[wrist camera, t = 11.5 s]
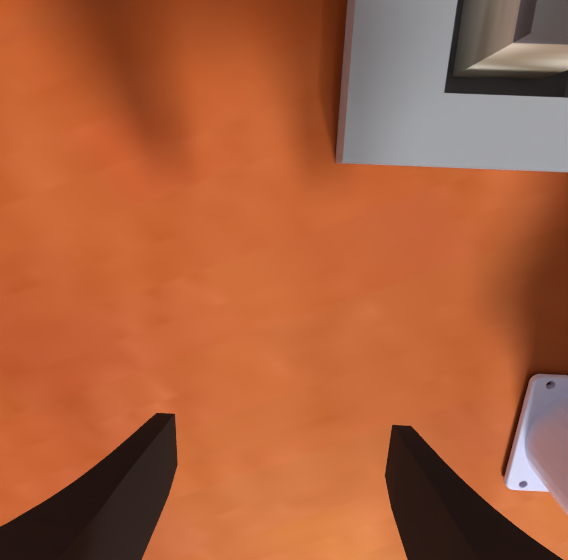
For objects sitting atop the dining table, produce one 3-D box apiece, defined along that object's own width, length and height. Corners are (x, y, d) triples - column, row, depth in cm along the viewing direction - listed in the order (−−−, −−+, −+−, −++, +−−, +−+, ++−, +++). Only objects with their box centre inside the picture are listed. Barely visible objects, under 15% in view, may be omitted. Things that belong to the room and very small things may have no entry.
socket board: (710, -138, 15) (807, -208, 12) (620, 174, 19) (679, 176, 16) (358, -148, 15) (373, -220, 12) (335, 162, 19) (342, 162, 16)
